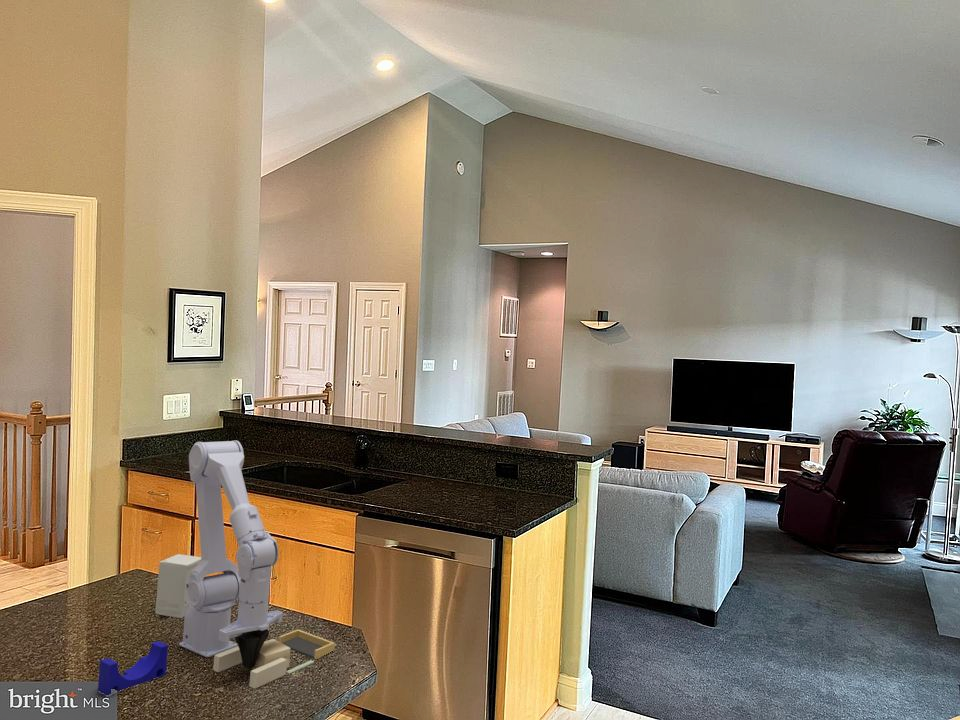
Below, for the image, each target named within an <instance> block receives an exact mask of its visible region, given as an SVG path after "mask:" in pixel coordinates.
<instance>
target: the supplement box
mask: <svg viewBox="0 0 960 720" xmlns="http://www.w3.org/2000/svg"><path fill="white" fill-rule="evenodd" d="M200 562H201V556H195V555H188V554H179V553H178V554H174V555H173V556H170V557H168V558H165V559H163V560H161V561H159V564H158V576H157V586H156V587H157V588H156V601H155V610H154V611H155V612H154V614H155V615H161V616H166V617H171V618H177V619H184V618H185V613H186V611H187V609H188V607H189V606H190V605H191V604H190V602H189V599H188V586H189V574H190V572H191V571H192V570H193V569H194V568H195V567H196V566H197V565H198V564H199V563H200Z"/></svg>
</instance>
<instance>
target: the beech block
mask: <svg viewBox="0 0 960 720" xmlns="http://www.w3.org/2000/svg"><path fill="white" fill-rule="evenodd" d="M280 658H284V659H287V666H286V669H289V668H290V663H291V648H290V647H288V646H286V645H284V644H282V643H280V642H279V640H278V639H275V638H271V639H269V640H265V642H264V644H263V645H262V647H261V650H260V652H259V655H258V657H257V660H256V663H255V666H254V667H253V668H251V669H252V670H254V669H256V668H259V667H261V666H263V665H266V664H268V663H270V662H273V661H275V660H277V659H280Z"/></svg>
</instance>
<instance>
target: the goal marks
mask: <svg viewBox="0 0 960 720" xmlns="http://www.w3.org/2000/svg"><path fill="white" fill-rule="evenodd" d="M313 664H315V661H313V660H311V659H310V660H309V661H306V662H304V663H302V664H299V665H297V666H295V667H292V668H291V669H289V670H286V674H288V675H291V674H294V673H296V672H298V671H300V670H302V669H304V668H306V667H308V666H311V665H313Z"/></svg>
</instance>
